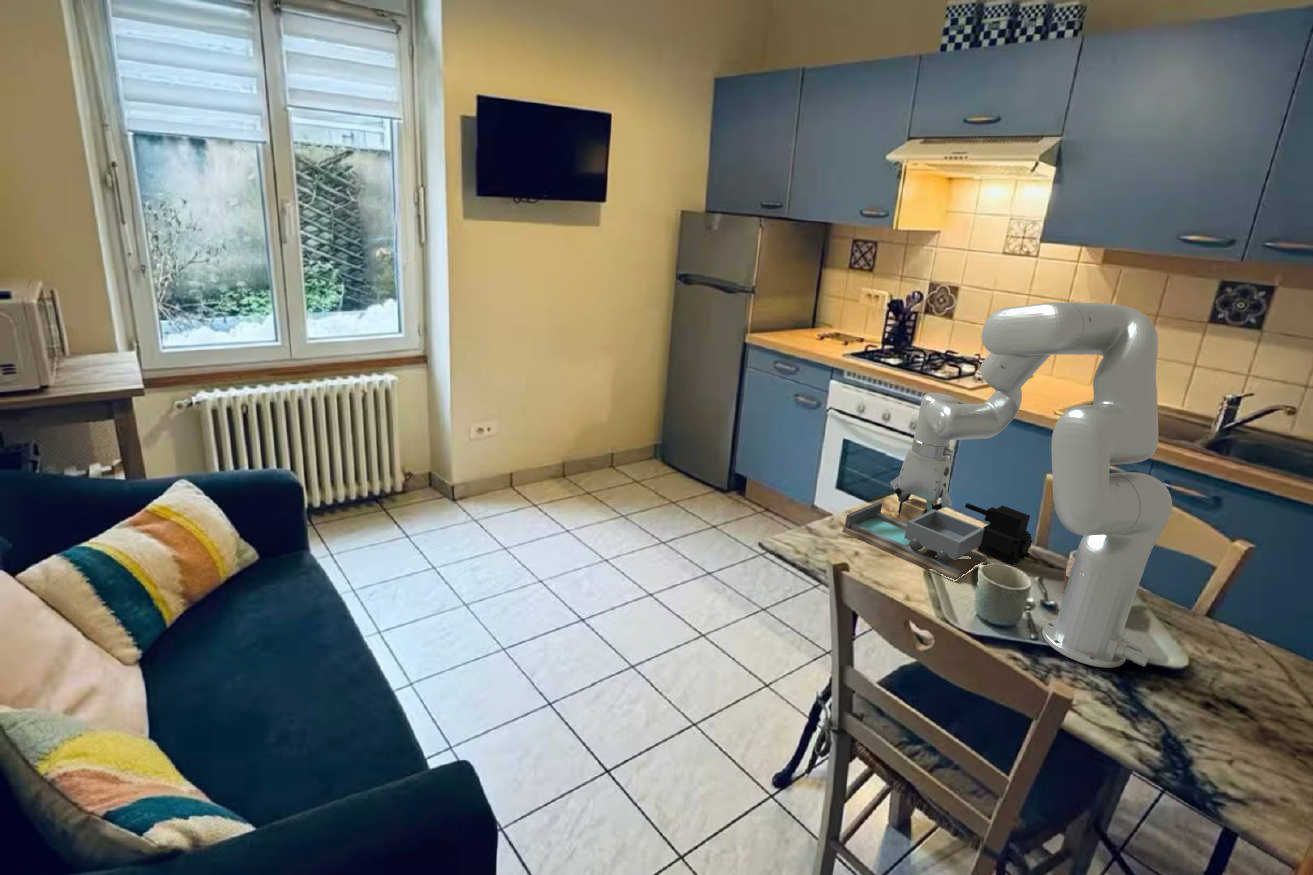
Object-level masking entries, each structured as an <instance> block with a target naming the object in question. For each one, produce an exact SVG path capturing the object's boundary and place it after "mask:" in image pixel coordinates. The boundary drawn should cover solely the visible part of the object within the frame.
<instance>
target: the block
mask: <svg viewBox="0 0 1313 875" xmlns="http://www.w3.org/2000/svg"><path fill="white" fill-rule="evenodd" d="M926 511H927V503H926V501H923V500H920V499H918V498H915V497H912V498H909V500H907V501H905V502H903V503H902V508H901V512H900V517H899V516H898V517H899V518H898V521H900V522H902V523H905V524H907V522H908V521H910V520H912V519H914V518H916V517H918V516H920V515H923V514H924V513H925V512H926Z"/></svg>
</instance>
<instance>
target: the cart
mask: <svg viewBox="0 0 1313 875" xmlns="http://www.w3.org/2000/svg"><path fill="white" fill-rule="evenodd" d="M983 533H984V528H983V527H980V526H978V525H976V524H973V523H970V522H967V521H965V520H963V519H961V518H957V517H956V516H955V517H954V516H952V515H950V514H947V513H945V512H942V511H939V510H938V511H937V510H934V509H933V510H931V511H929V512H927V513H925V514H923V515H920V516H918V517H916V518H914V519H912V520H910V521H908V522H907V527H906V532H905V537H904V538H905V539H908V540H910V544H909V545H910V548H911V549H912V550H914V551H918V550H920V549H922V548H923V546H924V547H926V548H929V549H931V550H933V551H936V552H938V553H937V559H938V560H939V561H940V562H941V563H946V562H947V561H949V560H950V559H951V558H952V559H954V560H956V559H958V558H960V557H962V556H963V555H965V554H967V553H968V552H970V551H973V550H975V549H976V548H977V547H978V546H980V545H981V541H982V537H983ZM977 549H978V548H977Z"/></svg>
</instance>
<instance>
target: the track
mask: <svg viewBox="0 0 1313 875" xmlns="http://www.w3.org/2000/svg"><path fill="white" fill-rule="evenodd" d="M882 508H883V502H880V501H876V502H874V503H872V504H870V505H868V506H864V507H862V508H860V509H857V510H855V511H853V512H850V513H848V514H846V517H845V522H844V527H843V528H842V533H845V534H847V535H849V536H851V537H853V538H855V539H858V540H860V541H862V542H865V543H867V544H869V545H871V546H873V547H875V548H878V549H880V550H882V551H885V552H887V553H888V554H891V555H893V556H896V557H898V558H900V559H902V560H904V561H906V562H908V563H911V564H914V565H915V566H917V567H920V568H922V569H924V570H926V571H928V570H927V569H934V570H936V571H937V572H939V573H940V574H943V575H944V576H946V577H949V578H952V579H954V580H956V579H958V578H959V577H961V576H962V575H963V574H966V573H967V572H968V571H969V570H971V569H972V568H973V567H974V566H975V565H978V564H980V563H981V562H985V561H986V562H987V560H988V558H987V557H986V556H985V555H984V554H981V553H978V552H975V551H973V550H972V551H970V552H968V553H967V554H965V555H963V556H969V557H971V559H956V560H954V559H952V558H951V559H950V560H949V561H947V562H946V563H941V562H940V561H939V560H938V559H937V557H935V556H937V553H938V552H936V551H933V550H931V549H929V548H926V547H924V546H923V548H922V549H920V550H918V551H914V550H912V549H911V548H910V545H909V544H910V540H908V539H905V538H904V537H905V532H906V527H907V524H905V523H902V522H900V521H899V519H895V518H892V517H890V516H888V515H885V514H883V513H881V512H882Z"/></svg>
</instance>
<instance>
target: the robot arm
mask: <svg viewBox="0 0 1313 875" xmlns="http://www.w3.org/2000/svg"><path fill="white" fill-rule="evenodd" d="M981 342H982V345H983V346H984V348H985V349H986V350H987V352H989V354H988V355H987V356H986V357H985V358H984V360H983V361H982V362H981V365H980V367H979V368H980V369H979V370H980V374H981V377H982V379H983V380H984V381H985V383H986V384H987V385H988V386H989V387H991V388H992V389H993V390H994V392H993V393H992V394H991V395H990V397H988V398H987V400H985V402H983V403H959V402H958V400H957V398H956V397H953V396H952V395H949V394H947V393H941V392H929V393H926V394H924V395H923V396H922V399H921V401H920V407H919V411H918V416H917V420H916V421H917V422H916V426H915V430H914V436H913V440H912V444H911V448H909V449H908V451H907V453H906V455H905V458H904V460H903V463H902V465H901V469H900V472H899V475H898V476H897V477H895V478H894V479H892V480H891V481H890V482H889V484H890V486H891V487H892V489H893V490H894V492H895V494H896V496H897V498H898V502H899V505H898V511H897V514H898V517H897V518H898V519H899V517H900V512H901V508H902V503H903V502H905V501H907V500H910V499H911V495H913V496H915V497H918V498H921V499H923V500H926V501H925V502H926V503H927V511H926V512H925V513H927V512H929V511H931V510H933V509H934V510H937V511H939V510H941V509H945V508H947V507H950V506H952V505H953V501H952V499H951V496H950V494H949V493H948V491H949V484H950V478H951V477H950V476H951V475H950V474H951V458H950V457H953V456H954V453H955V451H954V450H952V449H951V448H950V447H951V445H950V443H951V441H957V440H958V441H959V440H960V441H962V440H984V439H985V440H987V439H990V438H993V437H995V436H997V435H998V434H999V433H1001V432H1002V431H1004V429H1005V428H1006V427H1008V426H1009V424H1010V423H1011V422H1012V421H1013V420H1014V419H1015V418H1016V417H1017V415H1018V414H1019V411H1020V409H1021V404H1022V399H1023V392H1022V388H1023V386H1024V385H1025V384H1026V383H1027V382H1028V381H1029V379H1030V378H1031V377H1032V376H1033V375H1034V374H1035V373H1036V371H1038V370H1039V369H1040V368H1041V366H1042V365H1043V364H1045V362H1046V361H1047V360H1048V359H1049V358H1050V356H1051V355H1054V356H1055V355H1058V356H1059V355H1068V356H1069V355H1073V356H1075V355H1076V356H1078V355H1079V356H1084V355H1086V356H1087V355H1089V356H1090V355H1092V356H1093V355H1094V356H1097V355H1098V356H1101V357H1102V358H1101V360H1100V362H1099V363H1098V365H1097V367H1096V370H1095V371H1094V376H1093V380H1092V389H1093V390H1092V391H1093V400H1092V402H1093V404H1083V405H1082V404H1081V405H1077V406H1074V407H1071V408H1069V409H1067V410H1066V411H1064V412H1063V414H1061V416H1060V417H1059V418H1058V420H1057V421H1056V422H1055V425H1054V428H1053V431H1052V435H1051V469H1052V470H1051V473H1052V495H1053V496H1052V497H1053V505H1054V510H1055V514H1056V517H1057V519H1058V520H1059V523H1060V524H1061V525H1062V527H1064V528H1065V529H1066V530H1067V531H1069V532H1071V533H1072V534H1075V535H1078V536H1082V538H1081V539H1080V540H1081V541H1080V542H1079V545H1078V548H1077V550H1076V555H1075V557H1074V559H1073V560H1074V561H1073V564H1072V567H1071V571H1070V574H1069V577H1068V580H1067V583H1066V584H1067V585H1066V587H1065V591H1064V594H1063V598H1062V599H1061V600H1062V601H1061V603H1060V607H1059V610H1058V614H1057V617H1056V619H1052V620H1049V621H1047V622H1046V623H1045V624H1044V625H1043V628H1042V633H1041V634H1042V636H1043V639H1044V640H1045V642H1046V643H1048V644H1049V646H1050V647H1051V648H1053V649H1054V650H1055V651H1057V652H1059V653H1060V654H1061V655H1063V656H1065V657H1067V658H1070V659H1071V660H1073V661H1076V662H1079V663H1082V664H1085V665H1088V666H1092V667H1098V668H1107V669H1108V668H1116V667H1120V666H1122V665H1123V664H1125V662H1126V660H1130V661H1132V663H1134V664H1137V665H1139V666H1141V667H1146V666H1147V663H1148V661H1149V659H1150V655H1148V654H1146V653H1144V652H1145V647H1142V646H1140V645H1138V644H1135V643H1133V642H1130V640H1129V639H1128V638H1127V636H1128V633H1129V631H1128V630H1126V629H1125V626H1126V625H1127V621H1128V618H1129V615H1130V612H1131V609H1132V606H1133V603H1134V601H1135V597H1136V594H1137V592H1138V588H1139V585H1140V583H1141V581H1142V580H1141V579H1142V577H1143V574H1144V571H1145V569H1146V565H1147V562H1148V561H1149V560H1148V559H1149V557H1150V555H1151V553H1152V551H1153V548H1154V547H1155V544H1156V543H1157V541H1158V539H1159V538H1160V536H1161V534H1162V532H1164V530H1165V527H1166V526H1167V524H1168V522H1169V520H1170V517H1171V513H1172V510H1173V500H1172V496H1171V493H1170V491H1169V489H1168V487H1167V486H1166V485H1165V484H1164V483H1163V482H1162V481H1161V480H1159V479H1158V478H1156V477H1155V476H1152V475H1149V474H1147V473H1142V472H1131V471H1130V472H1129V471H1127V472H1126V471H1125V472H1110V465H1111V466H1112V465H1113V466H1114V465H1128V464H1136V463H1141V462H1144V461H1147V460H1149V459H1150V458H1151V457H1153V456H1154V454H1155V453H1156V451H1157V449H1158V445H1159V412H1158V411H1159V410H1158V387H1157V386H1158V385H1157V364H1158V362H1157V361H1158V351H1159V338H1158V333H1157V330H1156V327H1155V325H1154V323H1153V322H1152V320H1151V319H1150V318H1149V317H1148V316H1147V315H1146V314H1145V313H1143V312H1142V311H1140V310H1139V309H1137V308H1134V307H1129V306H1126V305H1121V304H1120V305H1119V304H1116V303H1115V304H1112V303H1103V302H1101V303H1100V302H1097V303H1096V302H1069V301H1068V302H1066V301H1065V302H1062V301H1061V302H1059V301H1058V302H1056V301H1055V302H1045V303H1036V304H1027V305H1019V306H1010V307H1003V308H1000V309H998V310H996V311H995V312H993V313H992V314H991V315H990V316H989V317H987V319H986V321H985V322H984V325H983V326H982V330H981ZM939 499H942V502H940V503H938V501H939ZM925 513H924V514H925Z"/></svg>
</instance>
